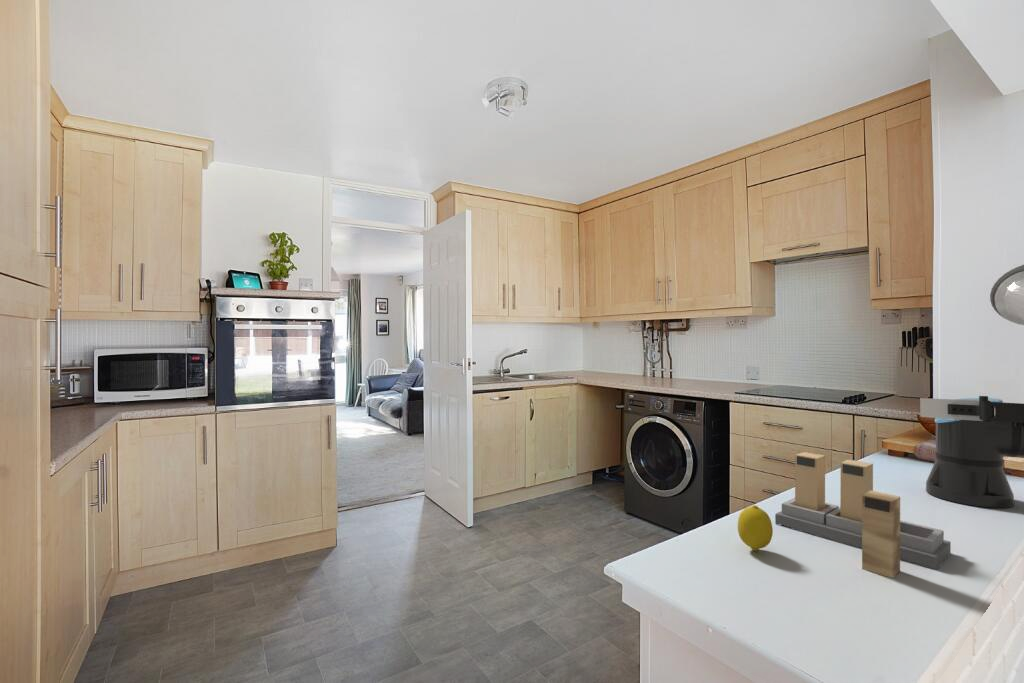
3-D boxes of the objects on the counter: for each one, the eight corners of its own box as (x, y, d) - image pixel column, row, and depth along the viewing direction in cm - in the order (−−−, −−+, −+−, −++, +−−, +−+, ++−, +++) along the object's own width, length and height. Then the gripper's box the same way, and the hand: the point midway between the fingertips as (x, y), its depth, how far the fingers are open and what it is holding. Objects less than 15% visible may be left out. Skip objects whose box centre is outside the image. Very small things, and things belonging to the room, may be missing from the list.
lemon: (769, 546, 88) (769, 502, 88) (775, 559, 83) (775, 512, 83) (735, 542, 90) (736, 499, 90) (739, 555, 84) (739, 508, 84)
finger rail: (796, 512, 105) (796, 447, 105) (950, 553, 85) (950, 472, 85) (775, 523, 99) (775, 454, 99) (936, 569, 79) (936, 483, 79)
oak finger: (870, 561, 82) (870, 490, 82) (900, 570, 79) (900, 496, 79) (861, 569, 79) (861, 495, 79) (891, 578, 76) (892, 501, 76)
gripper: (1157, 457, 50) (905, 433, 68) (1186, 452, 63) (968, 433, 81) (1152, 383, 51) (904, 379, 69) (1182, 393, 64) (967, 388, 82)
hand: (938, 408), depth 75 cm, fingers open, 13 cm apart
